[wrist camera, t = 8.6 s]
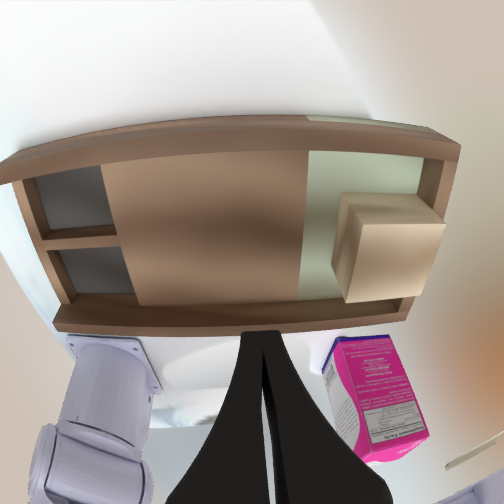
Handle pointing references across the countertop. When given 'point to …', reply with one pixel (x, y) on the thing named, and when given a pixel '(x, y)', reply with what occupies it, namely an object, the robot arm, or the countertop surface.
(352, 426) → the supplement box
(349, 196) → the birch block
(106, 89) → the countertop surface
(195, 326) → the compartment tray
